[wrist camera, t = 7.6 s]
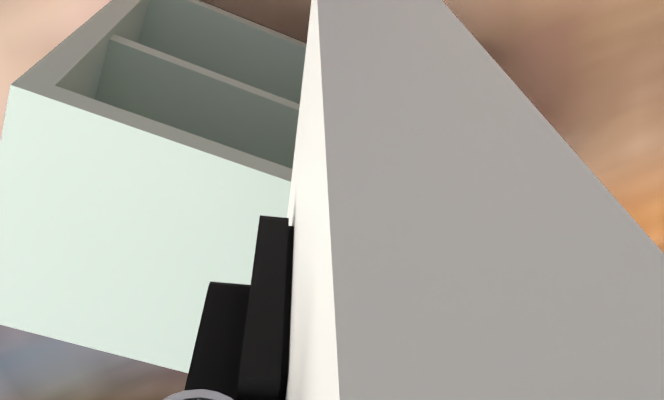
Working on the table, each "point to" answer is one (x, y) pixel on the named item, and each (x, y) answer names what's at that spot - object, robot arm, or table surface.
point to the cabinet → (143, 173)
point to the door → (453, 229)
